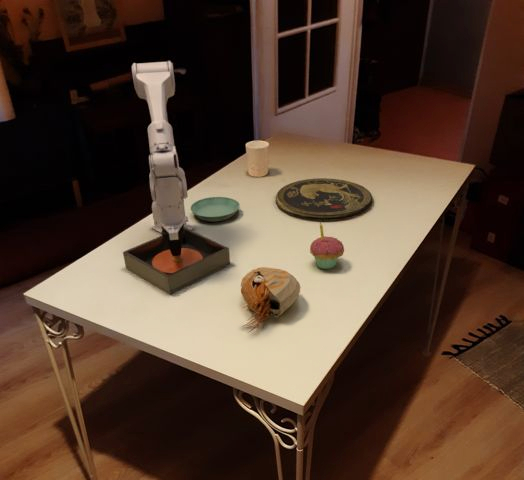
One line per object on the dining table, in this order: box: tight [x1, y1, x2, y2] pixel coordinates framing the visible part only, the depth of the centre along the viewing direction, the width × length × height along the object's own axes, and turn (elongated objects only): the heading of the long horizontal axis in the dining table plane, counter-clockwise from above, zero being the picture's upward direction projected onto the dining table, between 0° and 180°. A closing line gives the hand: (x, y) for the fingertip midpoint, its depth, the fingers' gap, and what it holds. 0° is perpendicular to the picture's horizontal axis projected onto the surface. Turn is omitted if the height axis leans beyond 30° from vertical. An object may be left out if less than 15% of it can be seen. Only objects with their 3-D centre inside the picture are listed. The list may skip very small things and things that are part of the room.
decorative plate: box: [275, 177, 374, 221], centre depth 175 cm, size 30×2×30 cm
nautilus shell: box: [240, 266, 301, 334], centre depth 126 cm, size 8×22×15 cm
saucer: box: [189, 196, 241, 223], centre depth 169 cm, size 15×15×3 cm
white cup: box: [245, 140, 270, 178], centre depth 192 cm, size 8×8×10 cm
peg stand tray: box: [122, 227, 231, 295], centre depth 144 cm, size 19×20×5 cm
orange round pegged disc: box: [152, 248, 203, 275], centre depth 143 cm, size 13×13×7 cm
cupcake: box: [309, 221, 345, 270], centre depth 141 cm, size 9×8×12 cm
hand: (176, 253), depth 143 cm, fingers closed on orange round pegged disc
